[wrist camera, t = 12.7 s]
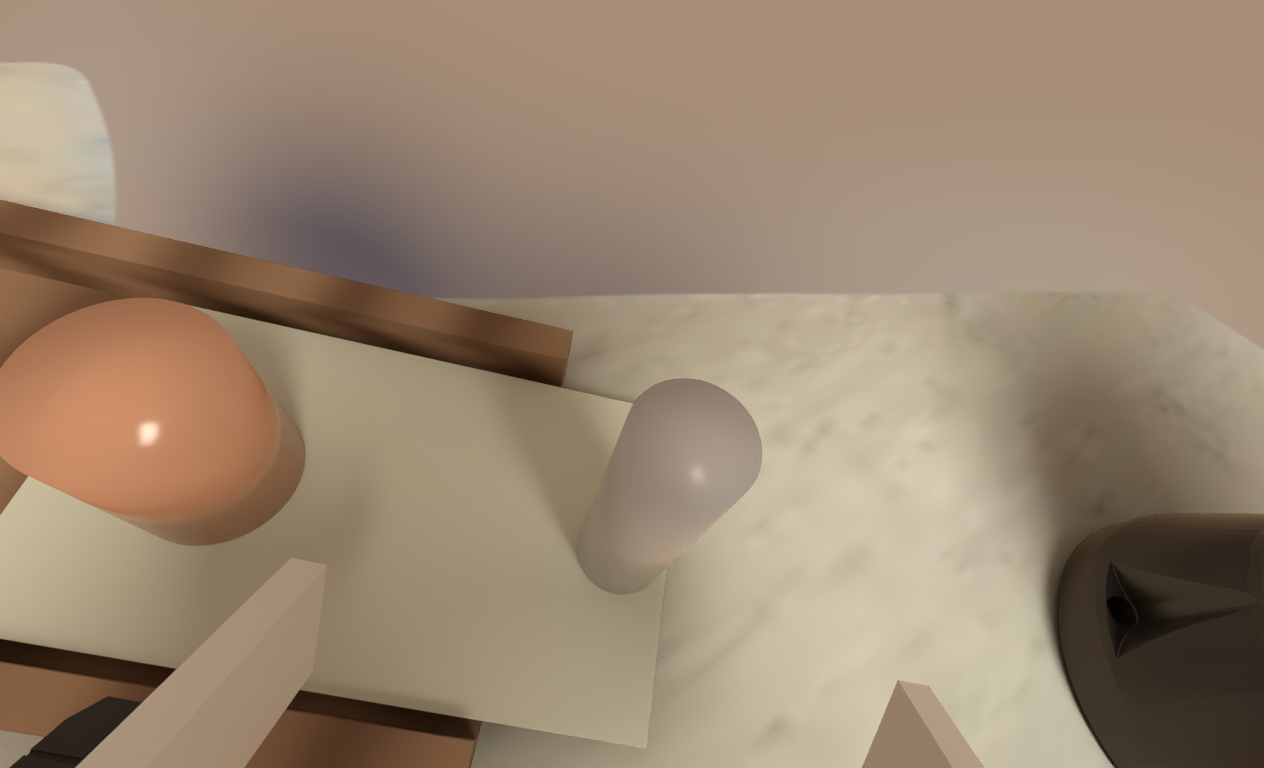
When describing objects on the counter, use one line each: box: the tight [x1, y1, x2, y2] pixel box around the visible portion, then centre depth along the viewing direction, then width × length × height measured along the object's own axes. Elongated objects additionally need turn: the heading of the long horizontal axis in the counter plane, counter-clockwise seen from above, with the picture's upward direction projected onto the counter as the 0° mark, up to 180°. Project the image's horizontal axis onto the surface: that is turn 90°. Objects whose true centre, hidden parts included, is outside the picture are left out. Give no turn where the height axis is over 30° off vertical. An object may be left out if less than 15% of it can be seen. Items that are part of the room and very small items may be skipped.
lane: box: [0, 200, 573, 768], centre depth 23 cm, size 32×18×4 cm, turn 82°
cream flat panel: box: [0, 298, 762, 749], centre depth 19 cm, size 24×14×12 cm, turn 82°
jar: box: [0, 298, 305, 546], centre depth 20 cm, size 6×6×7 cm
